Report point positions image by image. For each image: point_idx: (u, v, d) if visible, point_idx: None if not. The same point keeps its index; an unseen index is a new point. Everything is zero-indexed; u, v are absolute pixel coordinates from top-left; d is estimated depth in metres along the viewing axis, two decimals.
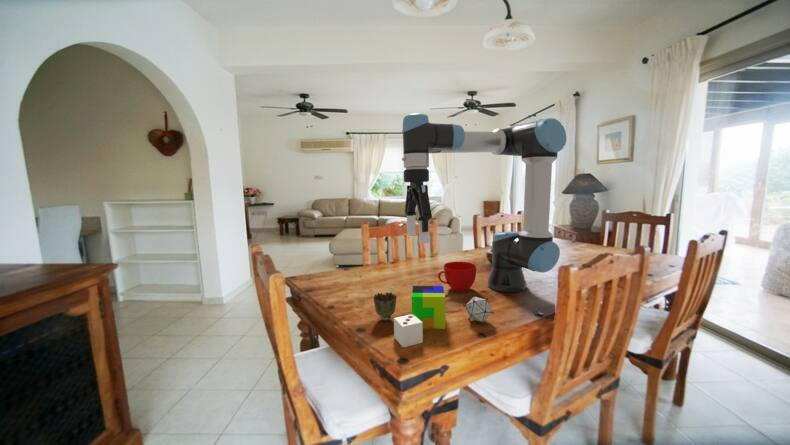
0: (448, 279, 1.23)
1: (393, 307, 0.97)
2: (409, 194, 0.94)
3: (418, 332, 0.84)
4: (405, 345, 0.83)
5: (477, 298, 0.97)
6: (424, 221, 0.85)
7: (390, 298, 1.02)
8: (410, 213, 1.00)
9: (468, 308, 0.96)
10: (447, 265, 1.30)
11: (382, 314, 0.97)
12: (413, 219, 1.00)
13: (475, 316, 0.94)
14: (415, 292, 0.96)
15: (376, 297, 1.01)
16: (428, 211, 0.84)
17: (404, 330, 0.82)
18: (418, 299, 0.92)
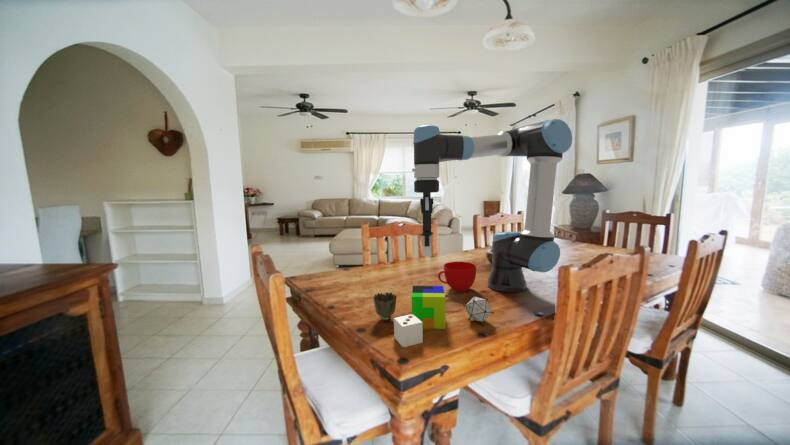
0: (448, 279, 1.23)
1: (393, 307, 0.97)
2: None
3: (418, 332, 0.84)
4: (405, 345, 0.83)
5: (477, 298, 0.97)
6: (425, 236, 0.93)
7: (390, 298, 1.02)
8: None
9: (468, 308, 0.96)
10: (447, 265, 1.30)
11: (382, 314, 0.97)
12: (429, 239, 0.95)
13: (475, 316, 0.94)
14: (415, 292, 0.96)
15: (376, 297, 1.01)
16: (428, 229, 0.90)
17: (404, 330, 0.82)
18: (418, 299, 0.92)
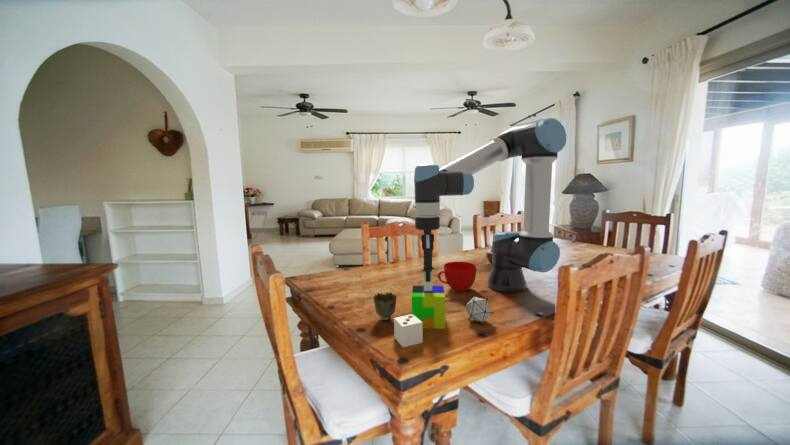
0: (448, 279, 1.23)
1: (393, 307, 0.97)
2: None
3: (418, 332, 0.84)
4: (405, 345, 0.83)
5: (477, 298, 0.97)
6: (426, 272, 0.94)
7: (390, 298, 1.02)
8: None
9: (468, 308, 0.96)
10: (447, 265, 1.30)
11: (382, 314, 0.97)
12: (430, 274, 0.96)
13: (475, 316, 0.94)
14: (415, 291, 0.96)
15: (376, 297, 1.01)
16: (429, 266, 0.92)
17: (404, 330, 0.82)
18: (418, 299, 0.92)
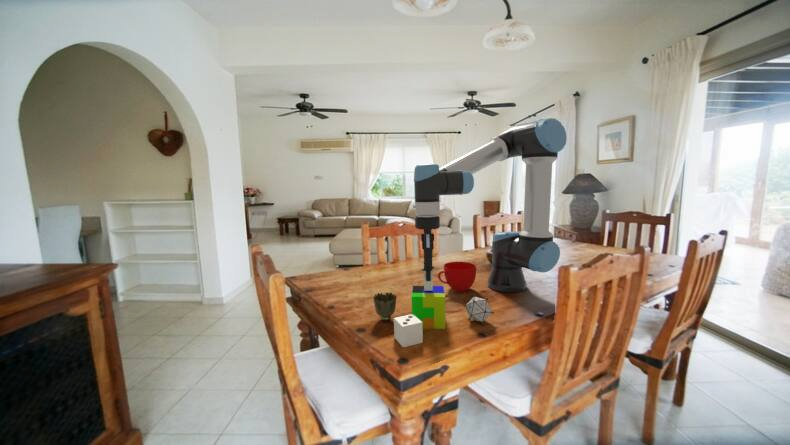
0: (448, 279, 1.23)
1: (393, 307, 0.97)
2: None
3: (418, 332, 0.84)
4: (405, 345, 0.83)
5: (477, 298, 0.97)
6: (427, 271, 0.94)
7: (390, 298, 1.02)
8: None
9: (468, 308, 0.96)
10: (447, 265, 1.30)
11: (382, 314, 0.97)
12: None
13: (475, 316, 0.94)
14: (415, 292, 0.96)
15: (376, 297, 1.01)
16: (429, 265, 0.92)
17: (404, 330, 0.82)
18: (418, 299, 0.92)
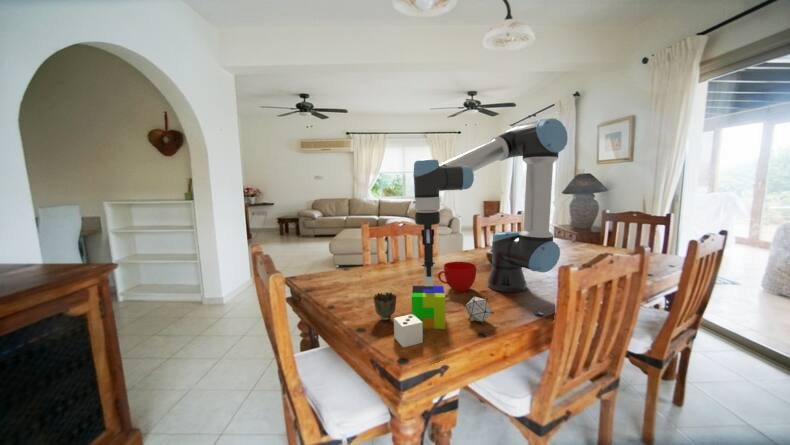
0: (448, 279, 1.23)
1: (393, 307, 0.97)
2: None
3: (418, 332, 0.84)
4: (405, 345, 0.83)
5: (477, 298, 0.97)
6: (427, 267, 0.94)
7: (390, 298, 1.02)
8: None
9: (468, 308, 0.96)
10: (447, 265, 1.30)
11: (382, 314, 0.97)
12: (431, 269, 0.96)
13: (475, 316, 0.94)
14: (415, 292, 0.96)
15: (376, 297, 1.01)
16: (430, 261, 0.92)
17: (404, 330, 0.82)
18: (418, 299, 0.92)
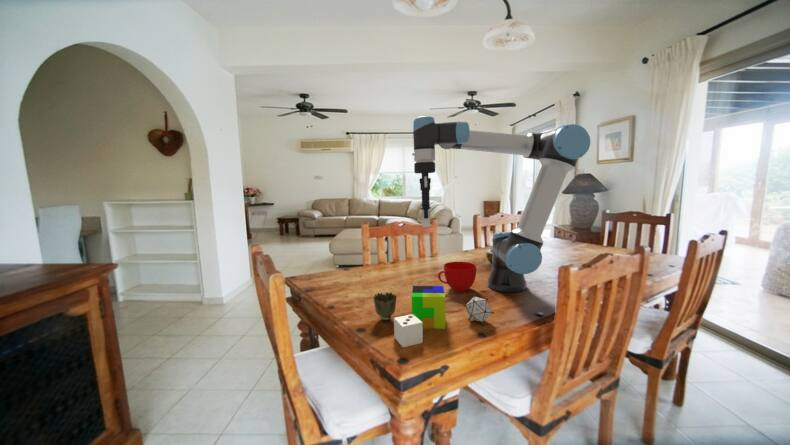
0: (448, 279, 1.23)
1: (393, 307, 0.97)
2: None
3: (418, 332, 0.84)
4: (405, 345, 0.83)
5: (477, 298, 0.97)
6: (424, 210, 1.11)
7: (390, 298, 1.02)
8: None
9: (468, 308, 0.96)
10: (447, 265, 1.30)
11: (382, 314, 0.97)
12: None
13: (475, 316, 0.94)
14: (415, 292, 0.96)
15: (376, 297, 1.01)
16: (427, 203, 1.08)
17: (404, 330, 0.82)
18: (418, 299, 0.92)
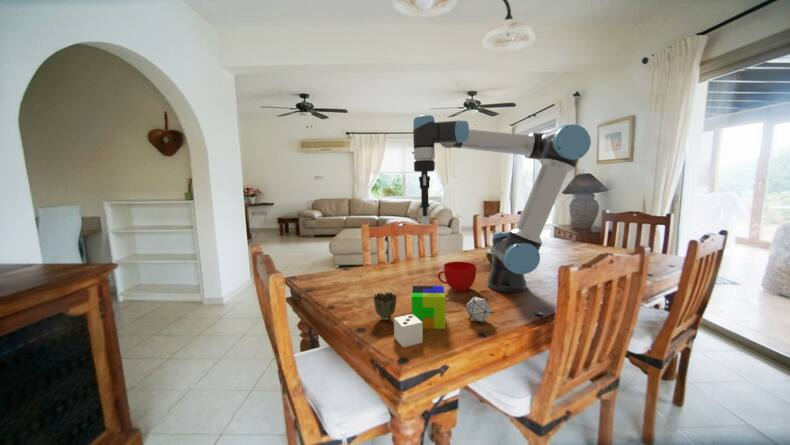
0: (448, 279, 1.23)
1: (393, 307, 0.97)
2: None
3: (418, 332, 0.84)
4: (405, 345, 0.83)
5: (477, 298, 0.97)
6: (423, 208, 1.12)
7: (390, 298, 1.02)
8: None
9: (468, 308, 0.96)
10: (447, 265, 1.30)
11: (382, 314, 0.97)
12: None
13: (475, 316, 0.94)
14: (415, 292, 0.96)
15: (376, 297, 1.01)
16: (426, 201, 1.09)
17: (404, 330, 0.82)
18: (418, 299, 0.92)
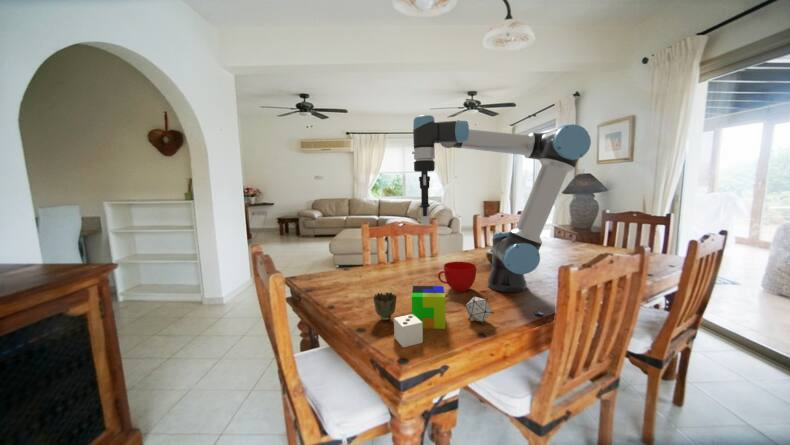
0: (448, 279, 1.23)
1: (393, 307, 0.97)
2: None
3: (418, 332, 0.84)
4: (405, 345, 0.83)
5: (477, 298, 0.97)
6: (423, 208, 1.12)
7: (390, 298, 1.02)
8: None
9: (468, 308, 0.96)
10: (447, 265, 1.30)
11: (382, 314, 0.97)
12: None
13: (475, 316, 0.94)
14: (415, 292, 0.96)
15: (376, 297, 1.01)
16: (426, 201, 1.09)
17: (404, 330, 0.82)
18: (418, 299, 0.92)
